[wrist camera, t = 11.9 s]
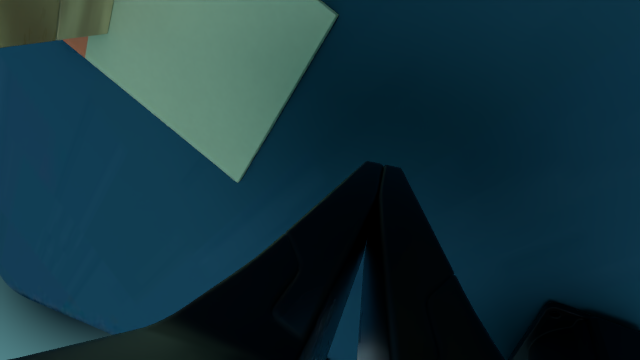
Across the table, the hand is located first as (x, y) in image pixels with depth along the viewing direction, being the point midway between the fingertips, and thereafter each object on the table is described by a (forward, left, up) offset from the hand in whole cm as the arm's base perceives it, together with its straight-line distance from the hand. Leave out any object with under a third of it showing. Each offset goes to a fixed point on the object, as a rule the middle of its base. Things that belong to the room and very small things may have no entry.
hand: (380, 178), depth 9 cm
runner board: (-1, +14, -11) cm, 18 cm away
